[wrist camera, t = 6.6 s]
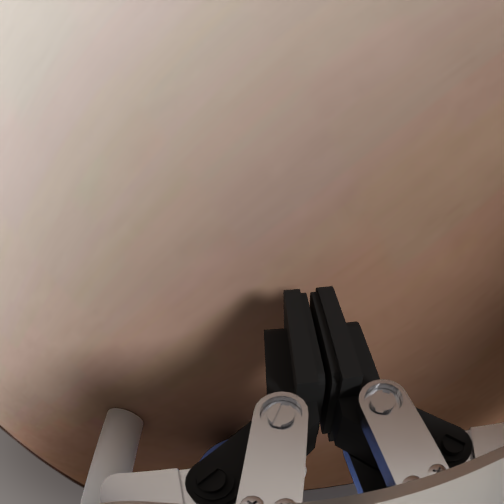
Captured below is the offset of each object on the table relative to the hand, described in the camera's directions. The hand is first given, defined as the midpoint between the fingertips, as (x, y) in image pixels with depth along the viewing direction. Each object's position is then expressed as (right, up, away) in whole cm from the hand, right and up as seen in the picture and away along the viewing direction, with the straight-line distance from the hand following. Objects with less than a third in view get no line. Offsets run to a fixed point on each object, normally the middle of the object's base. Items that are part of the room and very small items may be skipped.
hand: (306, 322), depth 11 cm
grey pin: (-10, -8, +6) cm, 14 cm away
